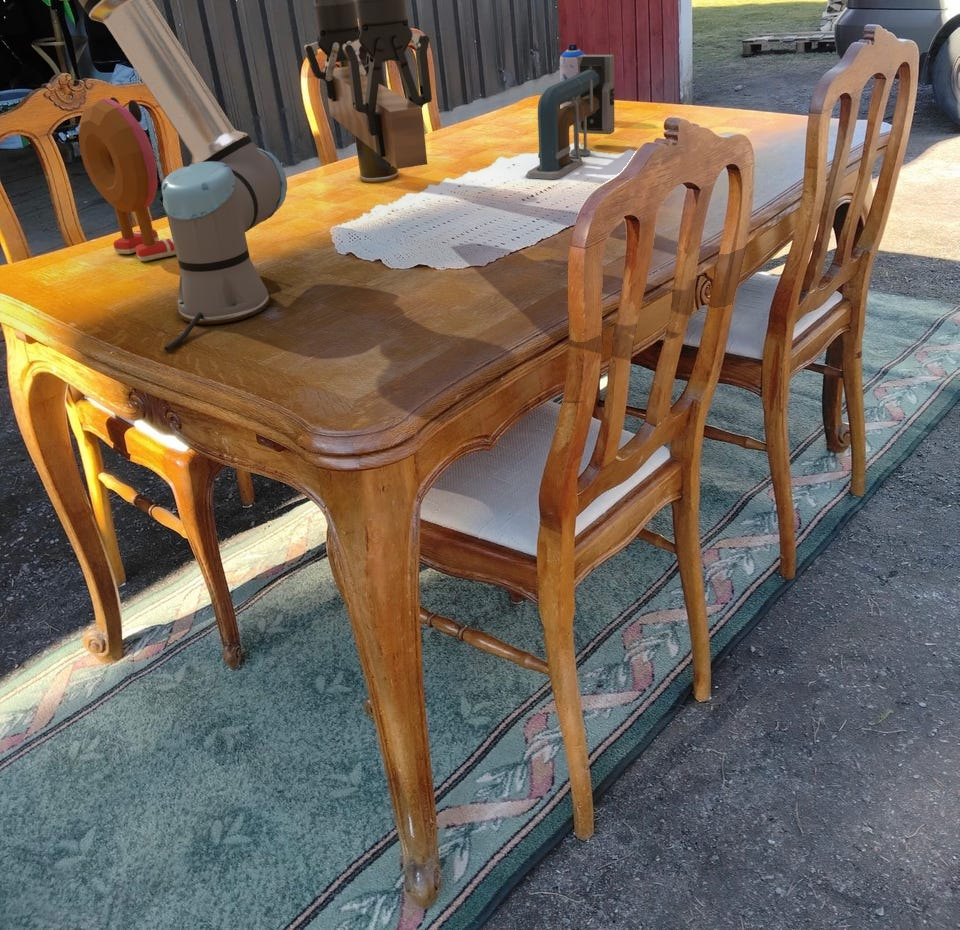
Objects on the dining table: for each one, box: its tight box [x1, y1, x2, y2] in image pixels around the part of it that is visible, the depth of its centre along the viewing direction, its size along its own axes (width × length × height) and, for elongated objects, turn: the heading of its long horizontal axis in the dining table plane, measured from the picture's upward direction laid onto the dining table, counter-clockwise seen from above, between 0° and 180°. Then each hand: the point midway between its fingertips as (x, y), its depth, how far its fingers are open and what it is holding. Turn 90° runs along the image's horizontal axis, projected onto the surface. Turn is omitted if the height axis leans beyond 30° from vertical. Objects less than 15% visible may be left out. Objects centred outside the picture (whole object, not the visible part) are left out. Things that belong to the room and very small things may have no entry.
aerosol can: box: [559, 43, 586, 109], centre depth 273 cm, size 8×8×20 cm
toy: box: [78, 96, 177, 262], centre depth 190 cm, size 21×10×30 cm, turn 47°
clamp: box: [525, 54, 615, 180], centre depth 232 cm, size 35×9×21 cm, turn 151°
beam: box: [327, 66, 428, 170], centre depth 170 cm, size 51×5×9 cm, turn 19°
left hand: (398, 152), depth 157 cm, fingers closed on beam, 5 cm apart
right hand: (348, 98), depth 185 cm, fingers closed on beam, 5 cm apart
